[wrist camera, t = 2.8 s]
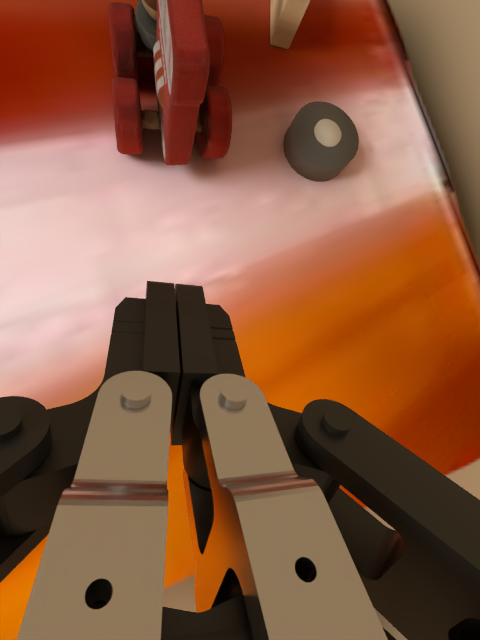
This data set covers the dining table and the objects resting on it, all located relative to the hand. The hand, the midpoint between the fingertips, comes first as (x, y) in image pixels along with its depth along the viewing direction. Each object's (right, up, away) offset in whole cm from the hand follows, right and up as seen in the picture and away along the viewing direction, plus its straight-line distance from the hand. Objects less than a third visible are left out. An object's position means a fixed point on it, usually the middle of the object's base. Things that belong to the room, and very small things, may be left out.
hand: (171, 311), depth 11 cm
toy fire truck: (-3, +15, +15) cm, 21 cm away
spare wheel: (+8, +13, +18) cm, 23 cm away
